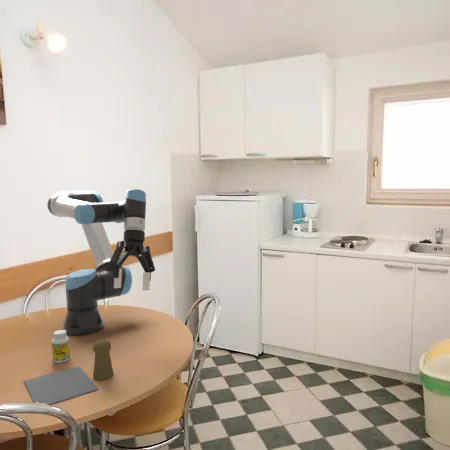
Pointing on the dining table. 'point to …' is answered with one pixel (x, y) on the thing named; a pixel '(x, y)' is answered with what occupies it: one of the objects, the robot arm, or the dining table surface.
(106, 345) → the cork
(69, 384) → the mat
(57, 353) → the supplement bottle
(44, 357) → the dining table surface
